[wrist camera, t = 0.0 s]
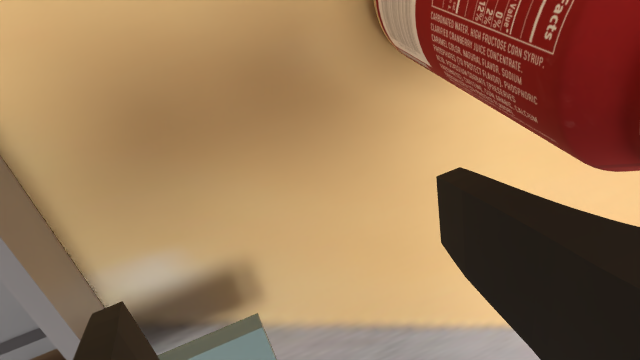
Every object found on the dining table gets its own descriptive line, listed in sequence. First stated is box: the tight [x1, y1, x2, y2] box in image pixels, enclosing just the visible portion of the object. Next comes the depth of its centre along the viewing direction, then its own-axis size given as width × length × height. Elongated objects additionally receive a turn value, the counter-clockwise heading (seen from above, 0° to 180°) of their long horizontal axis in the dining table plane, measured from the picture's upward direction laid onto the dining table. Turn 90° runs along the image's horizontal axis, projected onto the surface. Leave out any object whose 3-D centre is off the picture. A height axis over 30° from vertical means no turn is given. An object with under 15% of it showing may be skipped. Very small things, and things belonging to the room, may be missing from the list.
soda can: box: [374, 0, 640, 172], centre depth 15 cm, size 7×7×12 cm
